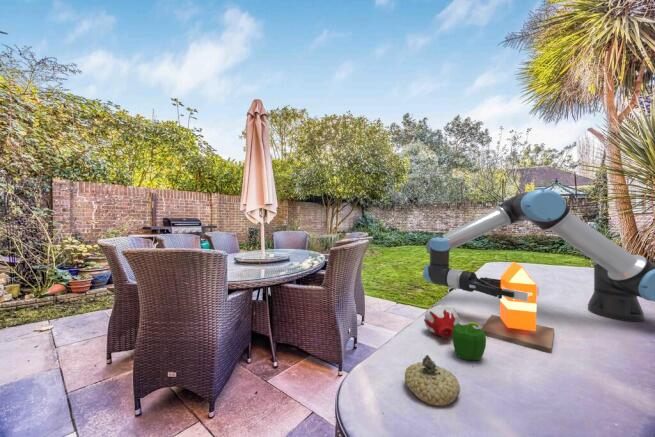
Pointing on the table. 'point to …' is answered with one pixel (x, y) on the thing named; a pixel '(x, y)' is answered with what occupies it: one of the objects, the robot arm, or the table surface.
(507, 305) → the orange juice
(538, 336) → the board
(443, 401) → the acorn cap
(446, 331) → the white red rounded lump
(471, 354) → the bell pepper
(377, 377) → the table surface
